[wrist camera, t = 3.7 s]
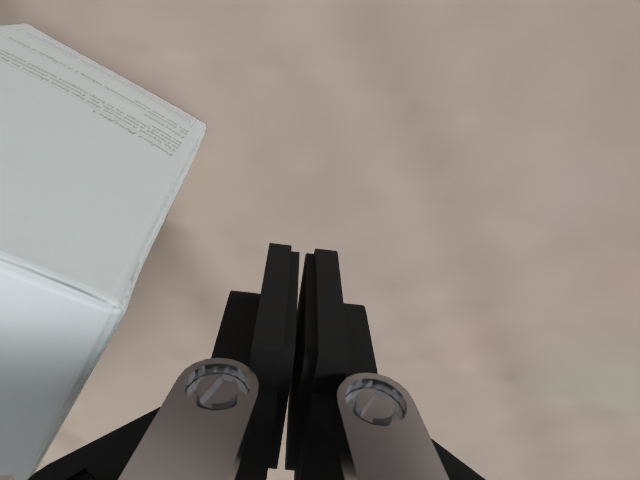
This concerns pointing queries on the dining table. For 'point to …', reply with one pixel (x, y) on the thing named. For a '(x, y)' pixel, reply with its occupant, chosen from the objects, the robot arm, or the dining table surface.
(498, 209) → the dining table surface
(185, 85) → the dining table surface
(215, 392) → the robot arm
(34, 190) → the supplement box
